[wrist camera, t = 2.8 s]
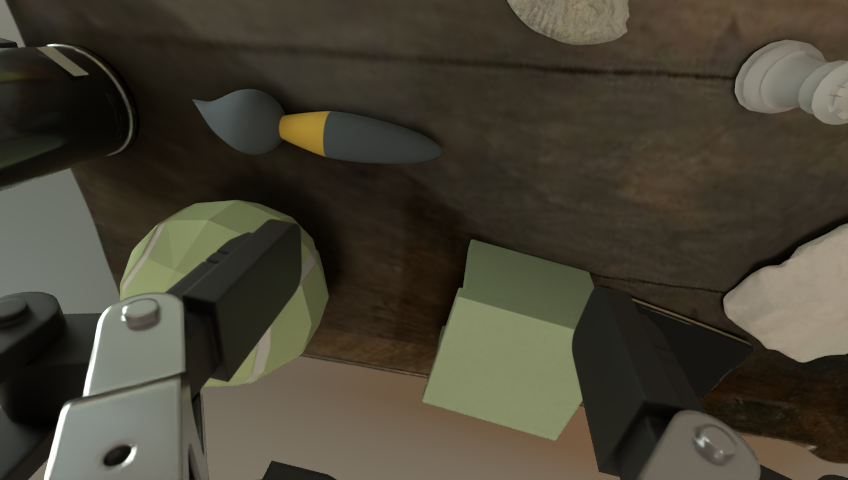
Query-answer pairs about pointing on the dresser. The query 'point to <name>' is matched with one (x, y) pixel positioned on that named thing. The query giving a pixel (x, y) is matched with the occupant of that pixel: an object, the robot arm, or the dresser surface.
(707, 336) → the smartphone
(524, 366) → the shelf
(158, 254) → the decorative sphere
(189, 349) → the robot arm
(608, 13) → the fossil
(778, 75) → the rook chess piece
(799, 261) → the stone
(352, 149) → the paintbrush
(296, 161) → the dresser surface
